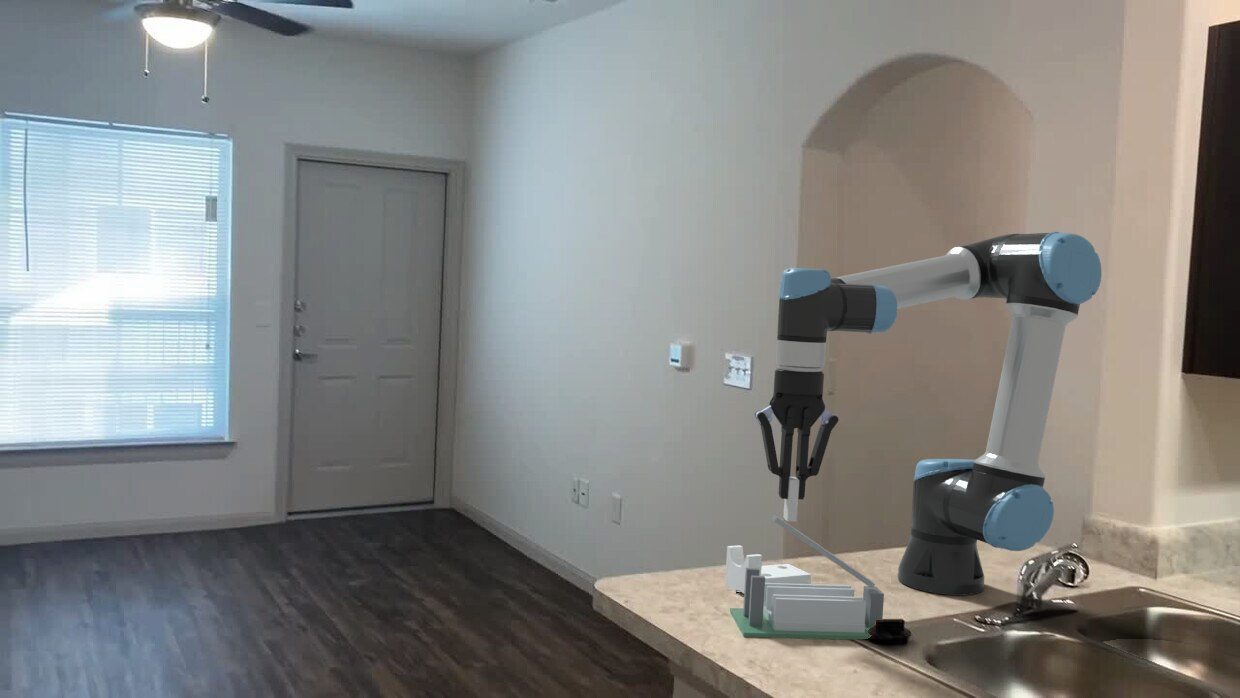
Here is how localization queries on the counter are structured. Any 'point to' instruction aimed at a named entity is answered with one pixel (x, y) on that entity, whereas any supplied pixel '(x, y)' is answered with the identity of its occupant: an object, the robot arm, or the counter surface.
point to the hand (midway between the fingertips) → (789, 519)
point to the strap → (823, 551)
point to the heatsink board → (806, 610)
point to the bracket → (771, 572)
